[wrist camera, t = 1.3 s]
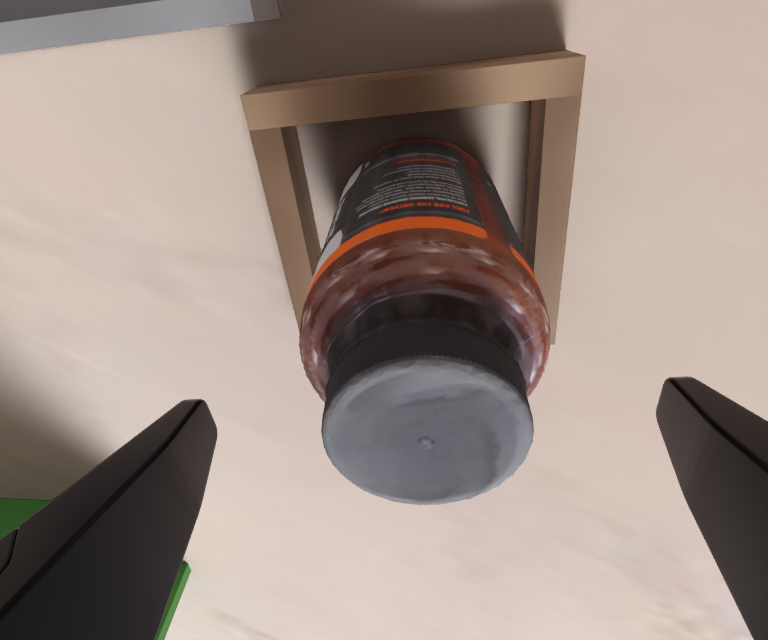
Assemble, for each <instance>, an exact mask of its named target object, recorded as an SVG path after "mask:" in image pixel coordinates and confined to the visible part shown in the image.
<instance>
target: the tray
mask: <svg viewBox="0 0 768 640" xmlns="http://www.w3.org/2000/svg"><path fill="white" fill-rule="evenodd" d="M279 18H281V16H280V11H279V6H278V1H277V0H0V55H4V54H12V53H19V52H27V51H35V50H42V49H50V48H58V47H65V46H73V45H80V44H88V43H96V42H103V41H111V40H119V39H126V38H134V37H142V36H149V35H157V34H164V33H172V32H180V31H187V30H195V29H203V28H210V27H218V26H225V25H233V24H241V23H248V22H256V21H264V20H271V19H279Z"/></svg>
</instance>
